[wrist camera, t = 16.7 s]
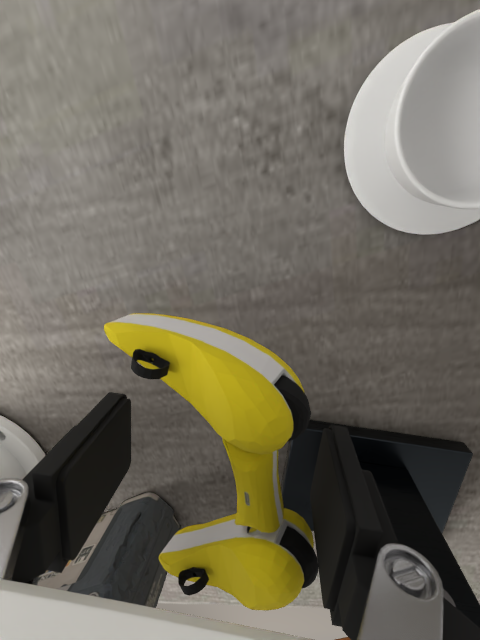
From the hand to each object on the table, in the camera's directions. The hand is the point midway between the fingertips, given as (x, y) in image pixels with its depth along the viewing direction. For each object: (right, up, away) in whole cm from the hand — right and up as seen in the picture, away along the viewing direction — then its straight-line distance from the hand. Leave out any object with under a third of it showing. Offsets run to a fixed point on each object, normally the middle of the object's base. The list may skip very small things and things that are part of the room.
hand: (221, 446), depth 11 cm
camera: (-10, -14, +17) cm, 24 cm away
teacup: (+11, +14, +6) cm, 19 cm away
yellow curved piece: (0, 0, +1) cm, 1 cm away
